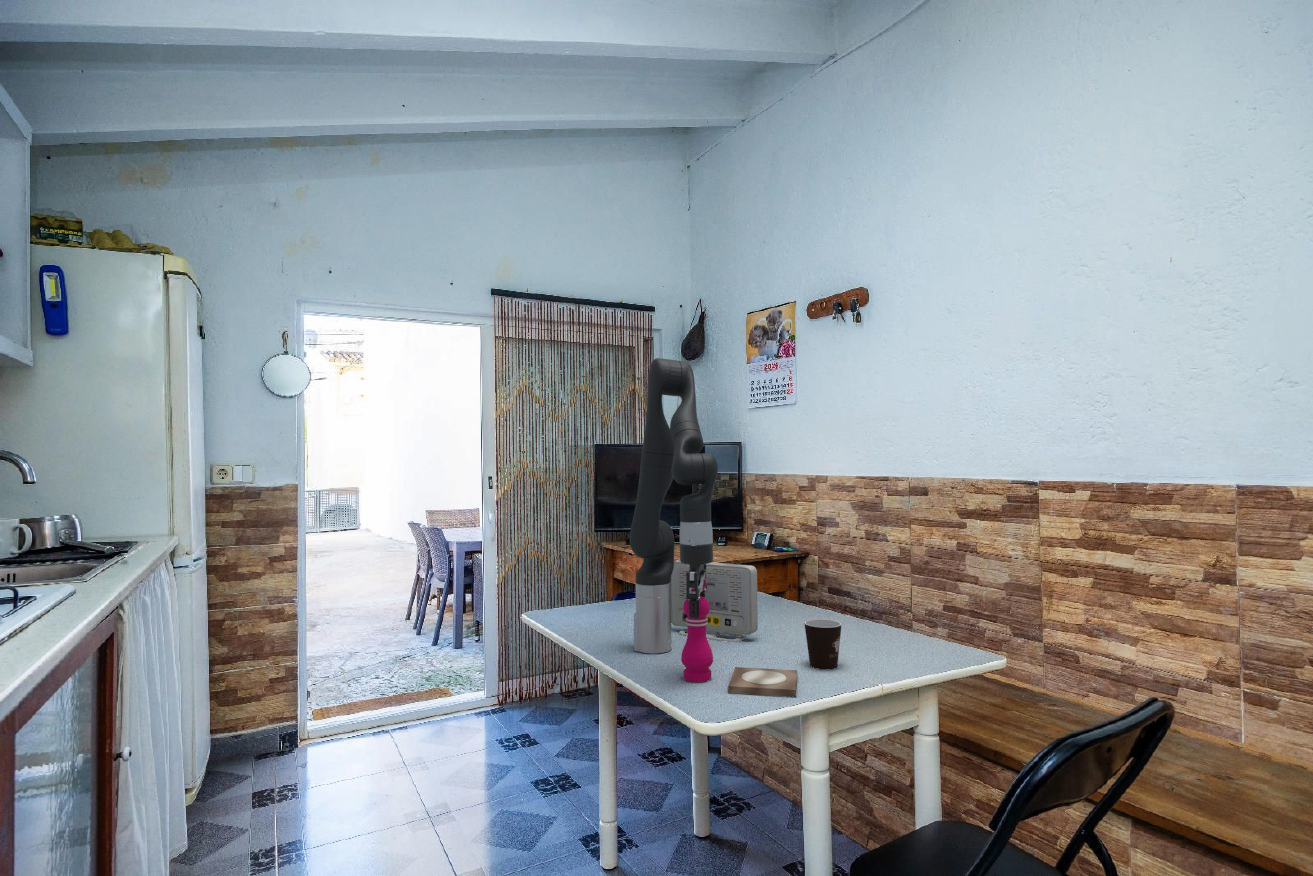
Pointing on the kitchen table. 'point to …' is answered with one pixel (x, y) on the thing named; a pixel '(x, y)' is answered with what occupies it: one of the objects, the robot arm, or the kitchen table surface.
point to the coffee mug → (823, 642)
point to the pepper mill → (697, 645)
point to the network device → (720, 599)
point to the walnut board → (763, 682)
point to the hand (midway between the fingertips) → (697, 613)
